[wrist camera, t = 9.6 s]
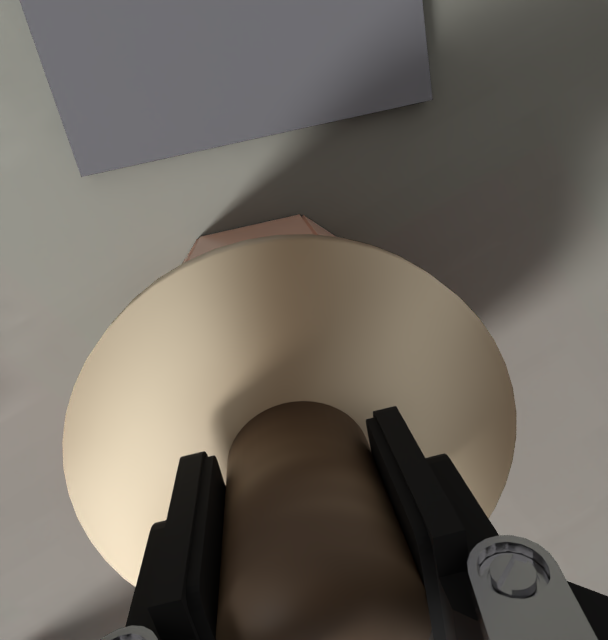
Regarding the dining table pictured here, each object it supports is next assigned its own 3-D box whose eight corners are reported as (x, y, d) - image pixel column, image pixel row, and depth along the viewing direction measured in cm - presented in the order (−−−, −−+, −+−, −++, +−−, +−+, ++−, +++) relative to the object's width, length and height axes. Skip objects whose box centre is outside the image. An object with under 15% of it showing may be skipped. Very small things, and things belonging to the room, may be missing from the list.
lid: (485, 185, 11) (672, 220, 6) (513, 555, 15) (643, 758, 10) (-1, 295, 11) (-211, 423, 6) (153, 644, 15) (104, 899, 10)
